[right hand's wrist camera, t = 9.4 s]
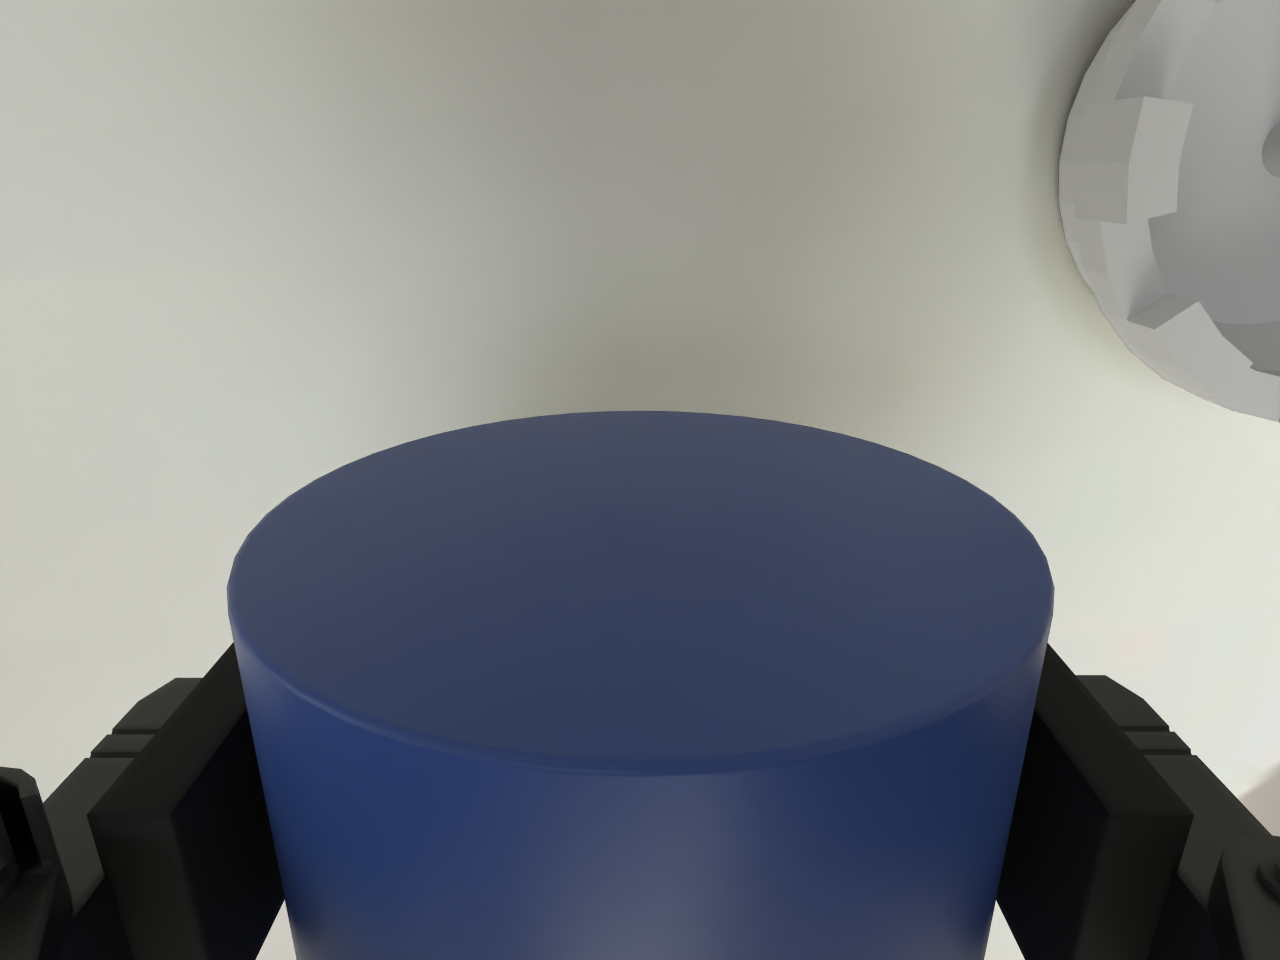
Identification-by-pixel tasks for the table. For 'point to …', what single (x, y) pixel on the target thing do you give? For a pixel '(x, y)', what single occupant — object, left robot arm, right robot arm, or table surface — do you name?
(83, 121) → the table surface
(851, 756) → the rod
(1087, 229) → the flag stand
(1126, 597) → the table surface
